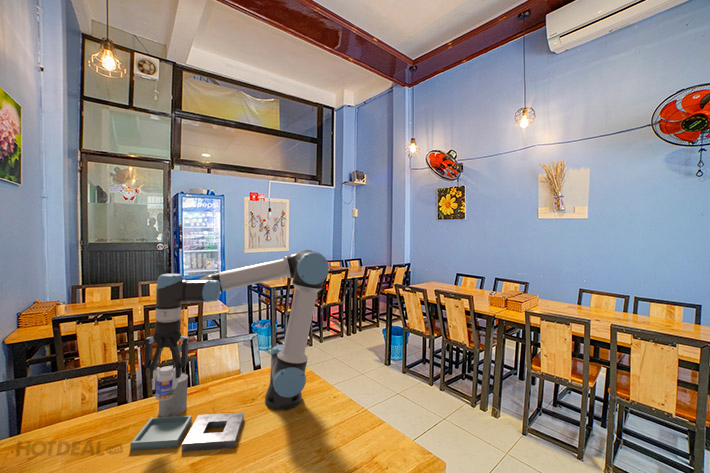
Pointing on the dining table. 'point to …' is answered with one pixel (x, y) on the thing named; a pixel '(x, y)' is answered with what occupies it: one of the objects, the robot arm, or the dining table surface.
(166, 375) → the pill bottle
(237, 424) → the socket plate
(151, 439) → the tray
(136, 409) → the dining table surface
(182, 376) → the gray cylinder
